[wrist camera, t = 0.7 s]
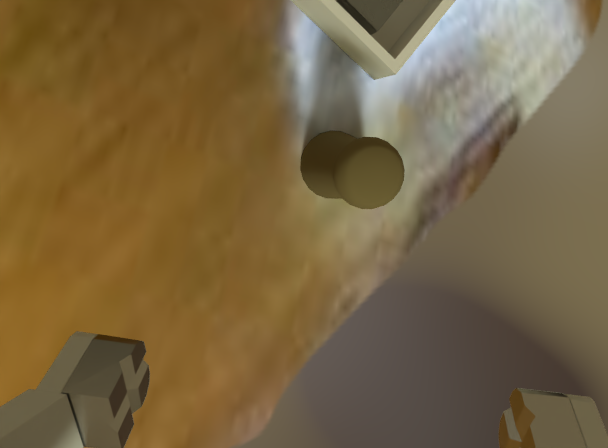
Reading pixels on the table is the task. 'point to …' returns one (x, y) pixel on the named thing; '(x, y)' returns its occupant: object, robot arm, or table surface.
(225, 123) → the table surface
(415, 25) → the tote
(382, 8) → the tin box
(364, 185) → the cork
